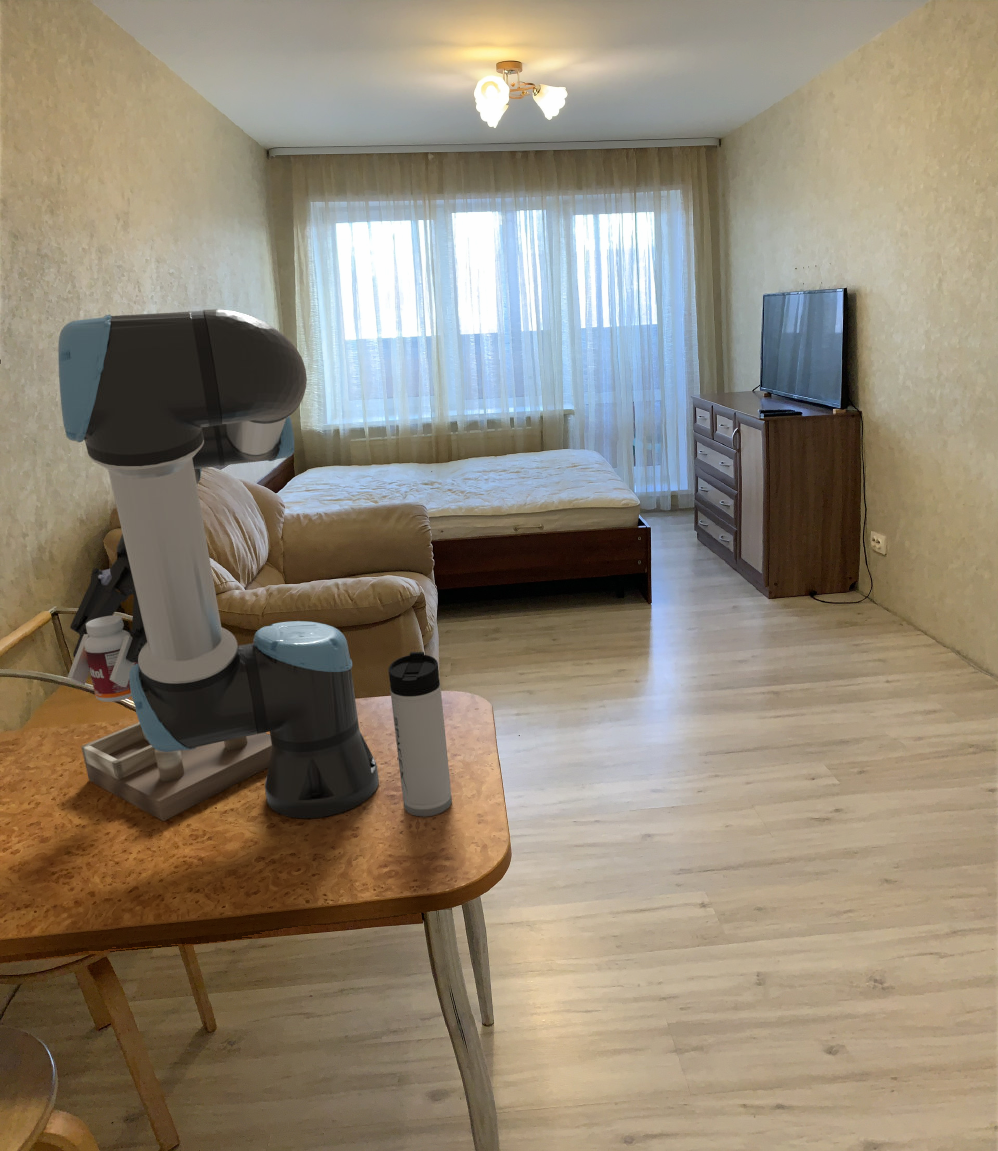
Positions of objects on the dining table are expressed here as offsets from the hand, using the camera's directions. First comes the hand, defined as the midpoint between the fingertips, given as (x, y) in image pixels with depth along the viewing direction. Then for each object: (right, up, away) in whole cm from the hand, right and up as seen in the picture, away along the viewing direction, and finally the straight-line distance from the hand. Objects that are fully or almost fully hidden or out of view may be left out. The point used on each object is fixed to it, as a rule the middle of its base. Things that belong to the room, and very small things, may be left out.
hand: (96, 682), depth 121 cm
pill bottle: (+1, -2, +4) cm, 5 cm away
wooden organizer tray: (+10, -14, +9) cm, 19 cm away
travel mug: (+46, -15, -5) cm, 49 cm away
